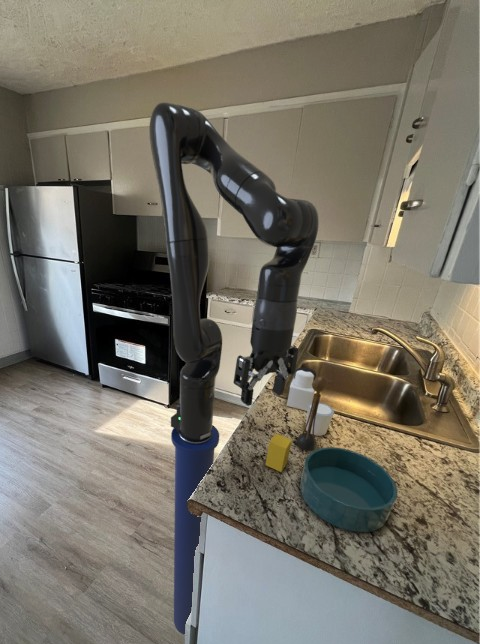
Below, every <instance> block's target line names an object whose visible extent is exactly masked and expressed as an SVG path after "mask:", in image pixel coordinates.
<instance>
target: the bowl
mask: <svg viewBox="0 0 480 644" xmlns="http://www.w3.org/2000/svg"><path fill="white" fill-rule="evenodd" d="M299 483H300V484H299V489H300V494H301V496H302V498H303V500H304V503H306V505H307V506H308V507H309V509H311V510H312V511H313V512H314V514H316V515H317V517H319V518H321V519H322V520H324V521H325V522H327V523H329V524H331V525H333V526H334V527H337V528H338V529H339V528H340V529H341V530H345V531H350V532H355V533H370V532H374V531H378V530H379V529H381V528H382V527H383V526H384V525H385V524H386V522H387V521H388V519H389V517H390V515H391V512H392V510H393V508H394V505H395V503H396V501H397V498H398V487H397V485H396V481H394V479H393V477H392V476H391V474H390V473H389V472H388V471H387V470H386V469H385V468H384V467H383V466H381V464H379V463H378V462H376V461H374V460H373V459H372V458H369V457H368V456H366V455H364V454H362V453H359V452H356V451H354V450H350V449H347V448H342V447H335V446H334V447H332V446H329V447H327V446H326V447H320V448H318V449H314V450H312V451H310V453H309V454H308V455H307V456H306V458H305V460H304V464H303V468H302V472H301V477H300V482H299Z"/></svg>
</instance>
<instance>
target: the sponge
mask: <svg viewBox="0 0 480 644" xmlns="http://www.w3.org/2000/svg"><path fill="white" fill-rule="evenodd" d="M292 441H293V439H291V438H289V437H287V436H284V435H282V434H279V433H274V435H273V436H272V438H271V439H270V440H269V442H268V447H267V452H266V453H267V454H266V460H265V466H267V467H268V468H271V469H273V470H275V471H277V472H280V473H282V472H283V471H284V469H285V467H286V466H287V463H288V462H289V456H290V452H291V447H292Z"/></svg>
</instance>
